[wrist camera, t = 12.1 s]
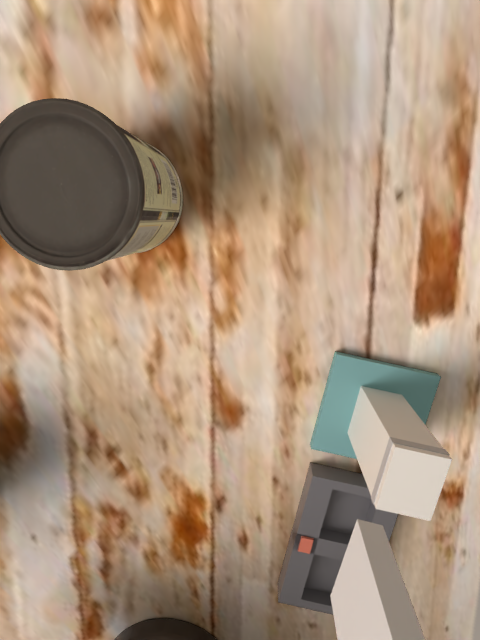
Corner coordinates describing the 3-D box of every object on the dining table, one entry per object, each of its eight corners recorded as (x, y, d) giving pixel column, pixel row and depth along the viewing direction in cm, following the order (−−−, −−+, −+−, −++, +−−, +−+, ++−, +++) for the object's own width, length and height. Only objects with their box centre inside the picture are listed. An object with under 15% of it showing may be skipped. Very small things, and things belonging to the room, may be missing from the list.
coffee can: (51, 190, 42) (-54, 175, 28) (132, 113, 40) (62, 58, 26) (124, 276, 43) (58, 302, 30) (206, 206, 42) (176, 199, 28)
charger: (387, 442, 44) (431, 521, 33) (346, 433, 44) (375, 509, 33) (402, 394, 43) (452, 459, 31) (360, 385, 43) (394, 446, 32)
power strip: (358, 601, 50) (363, 623, 47) (277, 583, 50) (278, 604, 47) (396, 481, 46) (404, 498, 43) (310, 462, 46) (313, 477, 44)
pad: (407, 465, 46) (410, 470, 45) (310, 443, 46) (311, 448, 45) (436, 373, 44) (440, 377, 43) (335, 351, 44) (336, 354, 43)
